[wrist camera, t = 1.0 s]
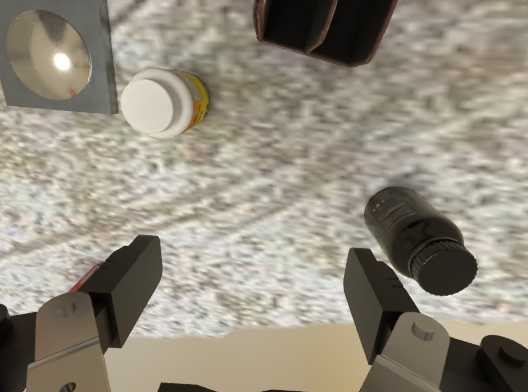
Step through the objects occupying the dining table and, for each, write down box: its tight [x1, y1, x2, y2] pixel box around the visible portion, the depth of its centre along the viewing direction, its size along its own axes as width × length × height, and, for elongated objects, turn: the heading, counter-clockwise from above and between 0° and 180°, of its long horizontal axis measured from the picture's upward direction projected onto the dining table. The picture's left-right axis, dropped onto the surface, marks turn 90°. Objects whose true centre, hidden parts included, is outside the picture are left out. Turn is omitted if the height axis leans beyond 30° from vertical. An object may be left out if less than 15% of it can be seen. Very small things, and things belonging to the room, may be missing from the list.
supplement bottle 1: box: [121, 68, 210, 139], centre depth 26 cm, size 6×6×10 cm
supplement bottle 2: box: [365, 188, 478, 296], centre depth 29 cm, size 7×7×12 cm
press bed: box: [0, 0, 118, 114], centre depth 24 cm, size 18×11×8 cm, turn 175°
